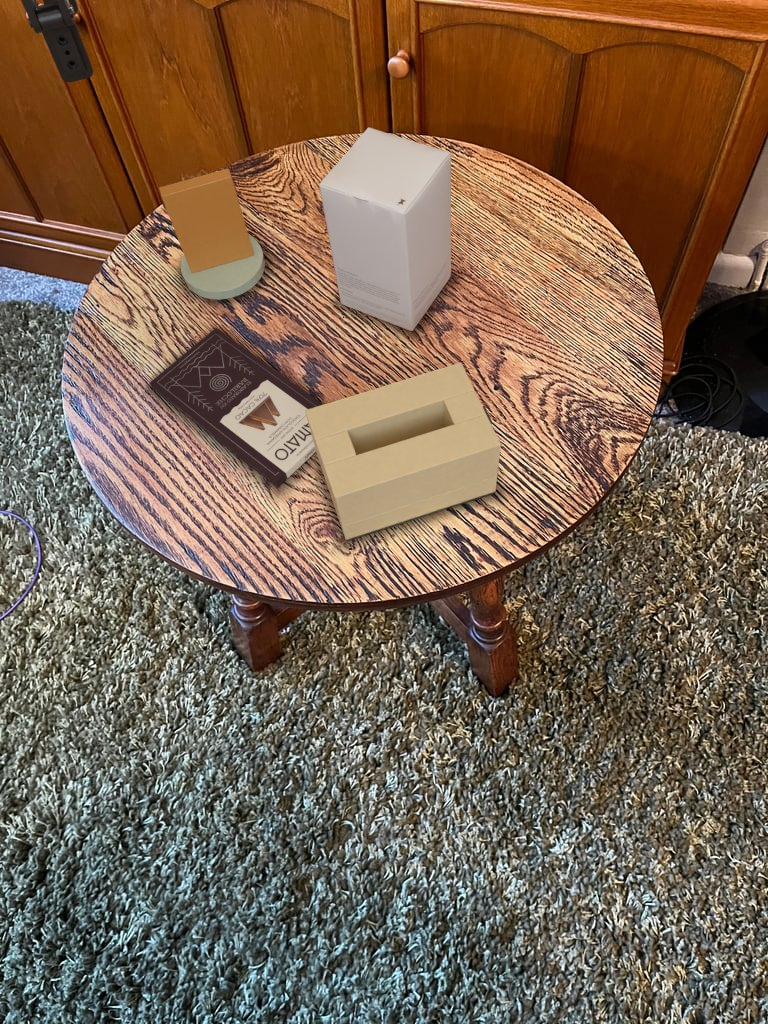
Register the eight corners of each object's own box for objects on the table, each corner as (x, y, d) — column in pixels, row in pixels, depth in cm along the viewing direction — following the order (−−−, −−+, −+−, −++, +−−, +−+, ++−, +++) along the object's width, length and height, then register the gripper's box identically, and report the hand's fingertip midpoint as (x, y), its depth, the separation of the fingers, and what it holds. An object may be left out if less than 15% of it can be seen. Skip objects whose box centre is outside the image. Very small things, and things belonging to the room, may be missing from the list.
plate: (192, 309, 82) (189, 301, 81) (177, 252, 86) (173, 244, 85) (273, 285, 83) (271, 277, 82) (254, 230, 87) (252, 221, 86)
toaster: (346, 542, 67) (334, 497, 60) (318, 460, 72) (304, 410, 65) (504, 490, 69) (510, 441, 62) (467, 413, 73) (469, 359, 66)
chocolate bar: (215, 327, 79) (343, 418, 72) (218, 334, 80) (344, 424, 73) (149, 382, 76) (275, 482, 70) (152, 388, 77) (277, 487, 70)
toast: (191, 273, 83) (161, 196, 74) (189, 265, 83) (158, 187, 74) (254, 255, 83) (231, 176, 74) (251, 247, 84) (228, 167, 75)
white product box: (454, 275, 81) (455, 150, 68) (412, 334, 78) (405, 214, 65) (380, 248, 84) (368, 122, 71) (337, 303, 81) (315, 183, 67)
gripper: (-122, -289, 45) (12, 8, 59) (-123, -197, 38) (29, 114, 52) (8, -313, 45) (109, -15, 60) (30, -227, 39) (138, 87, 53)
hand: (71, 45), depth 56 cm, fingers open, 8 cm apart
